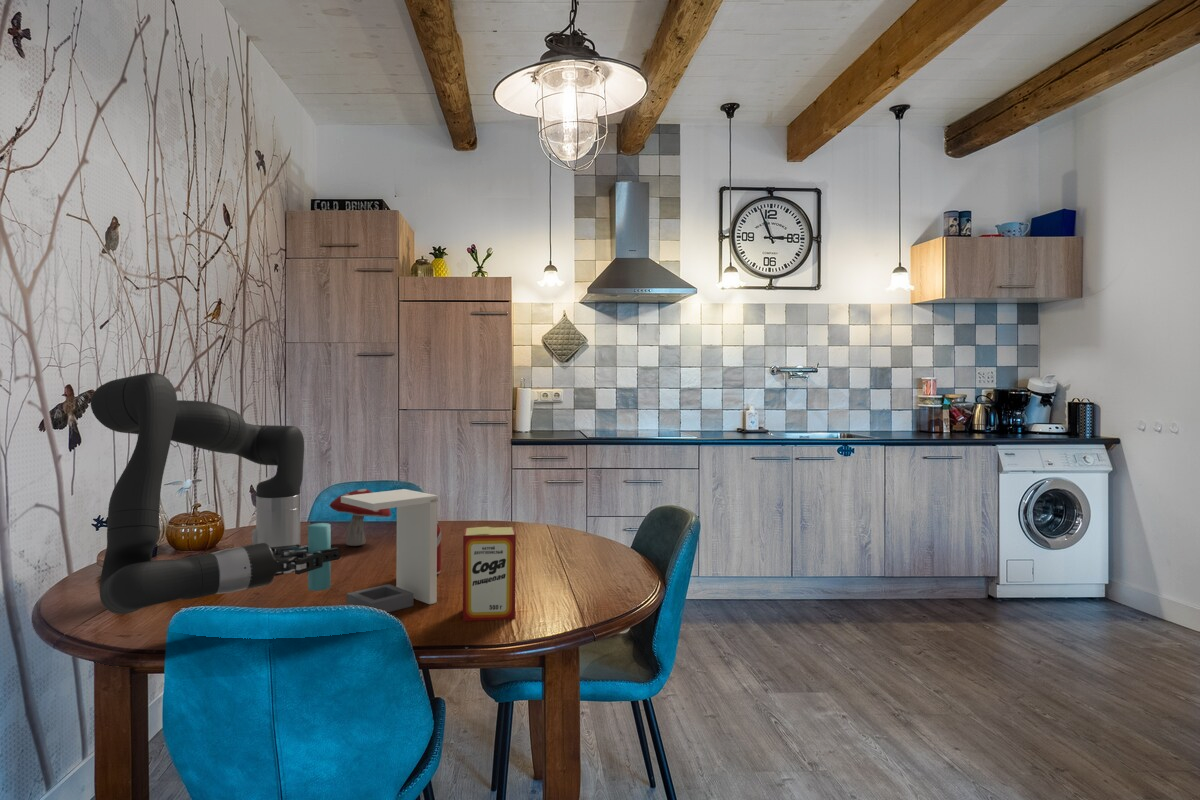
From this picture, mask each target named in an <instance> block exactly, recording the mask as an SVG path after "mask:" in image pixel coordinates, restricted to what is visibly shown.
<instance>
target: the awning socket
mask: <svg viewBox="0 0 1200 800" xmlns="http://www.w3.org/2000/svg"><path fill="white" fill-rule="evenodd" d="M340 496H341V495H340ZM438 502H439V495H438V494H433V493H427V492H422V491H416V490H412V489H406V488H402V489H393V490H386V491H385V490H384V491H383V490H382V491H378V492H377V491H376V492H375V491H374V492H373V493H366V494H357V495H348V496H341V503H345V504H349V505H353V506H357V507H361V508H365V509H369V510H380V509H387V508H389V509H394V508H396V566H395V567H396V577H395V578H396V580H395V581H396V585H392V584H390V583H387V584H382V585H378V586H377V585H376V586H373V587H369V588H364V589H360V590H356V591H352V592H347V593H346V605H347V604H353V605H365V606H369V607H374V608H377V609H382V610H385V611H387V612H388V613H391V612H392V613H393V612H395V611H399V610H403V609H407V608H411V607H414V599H415V600H416V601H419V602H422V603H424V604H428V605H433V604H436V603H437V597H438V596H437V594H438V593H437V591H438V589H437V588H438V587H437V586H438V585H437V583H438V579H437V577H438V576H437V575H438V574H437V521H438Z"/></svg>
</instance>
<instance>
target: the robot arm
mask: <svg viewBox="0 0 1200 800" xmlns="http://www.w3.org/2000/svg"><path fill="white" fill-rule="evenodd" d="M176 392H177V391H176V389H175V387H174V385H173V383H172V382H171V381H170V380H169V378H167V377H166V376H164V375H163V374H161V373H158V372H147V373H142V374H141V373H140V374H136V375H131V376H127V377H120V378H116V379H113V380H110V381H107V382H105V383H103V384H102V385H100V386H99V387H97V388H96V389H95V390H94V392H93V393H92V396H91V398H90V409H91V412H92V413H93V415H94V417H95V418H96V419H97V421H98V422H99V423H100V424H101V425H103V426H104V427H106V428H107V429H109V430H111V431H114V432H116V433H121V434H122V433H124V434H133V435H137V439H136V442H135V443H136V445H135V447H134V450H133V452H132V454H131V457H130V459H129V461H128V463H127V465H126V466H125V468H124V470H123V471H122V473H121V474H120V477H119V479H118V480H117V482H116V484H115V485H114V487H113V490H112V492H111V495H110V499H109V502H108V508H107V509H108V510H107V524H106V525H107V526H106V550H105V554H104V559H103V565H102V569H101V575H100V580H99V598H100V602H101V604H102V606H103V607H104V608H105V609H106V610H107V611H109V612H111V613H113V614H116V615H128V614H132V613H134V612H137V611H138V610H141V609H143V608H147V607H151V606H154V605H157V604H163V603H167V602H172V601H177V600H183V601H185V600H186V601H187V600H192V599H199V598H204V597H208V596H213V595H218V594H228V593H229V594H230V593H235V592H239V591H244V590H249V589H254V588H258V587H264V586H268V585H270V584H271V583H272V582H273V580H274V577H275V575H276V574H284V575H285V574H291V573H292V572H294V574H295V575H302V574H304V573H308V571H311V570H314V569H317V568H321V567H323V562H328V561H331V562H333V561H337V560H340V559H341V549H340V548H339V547H331V549H326V550H317V551H311V552H308V545H306V544H305V545H301V488H302V482H303V476H304V462H305V460H304V459H305V458H304V457H305V439H304V434H303V432H302V431H301V429H300V428H299V427H297V426H294V425H272V424H271V425H270V424H267V425H266V424H265V425H259V424H251V423H247V422H246V421H245V419H244V417H243V416H242V415H241V414H240V413H238V412H237V411H235V410H234V409H231V408H229V407H226V406H224V405H220V404H217V403H214V402H209V401H203V400H183V399H182V400H178V396H177V393H176ZM171 442H175V443H180V444H183V445H187V446H191V447H195V448H199V449H201V450H205V451H209V452H214V453H215V452H216V453H220V454H229V455H230V454H231V455H236V456H238V457H240V458H243V459H245V460H248V461H250V462H252V463H255V464H256V465H257V464H258V465H262V466H277V468H276V471H275V472H276V473H275V475H273V476H272V477H271V478H269V479H266V480H264V481H263V480H262V481H261V482H259V483H257V485H256V488H255V489H256V491H255V493H256V495H255V496H256V501H255V503H256V505H255V507H256V510H255V513H256V514H255V515H256V517H255V518H256V522H255V523H256V527H255V528H254V529H252V530H251V543H252V544H248V545H241V546H236V547H230V548H225V549H220V550H217V551H214V552H209V553H203V554H202V553H201V554H198V555H192V556H187V557H182V558H178V559H163V560H162V559H161V560H152V557H153V556H152V555H153V551H154V549H155V547H156V545H157V544H158V540H159V534H160V532H159V531H160V511H161V510H160V506H161V505H160V504H161V490H162V484H163V478H164V472H165V469H166V465H167V464H166V463H167V460H168V456H169V450H170V446H171ZM314 559H315V561H314Z"/></svg>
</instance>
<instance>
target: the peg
mask: <svg viewBox="0 0 1200 800" xmlns="http://www.w3.org/2000/svg"><path fill="white" fill-rule="evenodd" d="M331 527H332V525H331V523H327V522H318V523H312V524H309V525H307V546H308V552H311V551H317V550H326V549H331V548H332V547H331V543H332V542H331V541H332V539H331V533H332V532H331ZM314 561H315V559H314ZM331 563H332V561H328V562H323V567H321V568H317V569H314V570H311V571H308V572H307V589H308V590H309V591H311V592H312V591H313V592H314V591H315V592H320V591H324V590H328V589H330V588H331V587H332V586H331V582H332V581H331V578H332V577H331V572H332V571H331V569H332V568H331Z"/></svg>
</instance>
